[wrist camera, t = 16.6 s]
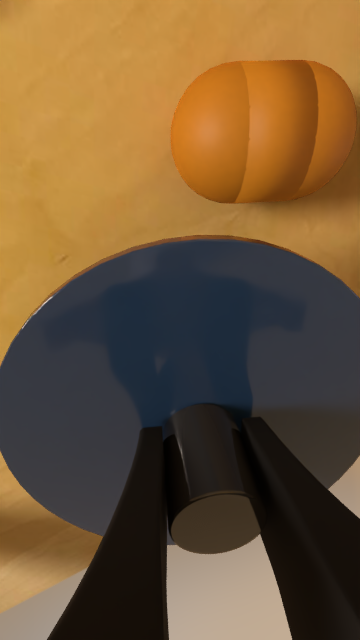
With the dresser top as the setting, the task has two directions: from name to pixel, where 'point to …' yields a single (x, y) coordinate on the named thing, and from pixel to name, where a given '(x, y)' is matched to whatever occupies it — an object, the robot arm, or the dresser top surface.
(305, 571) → the robot arm
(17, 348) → the lid
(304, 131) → the orange banded oval part
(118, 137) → the dresser top surface
